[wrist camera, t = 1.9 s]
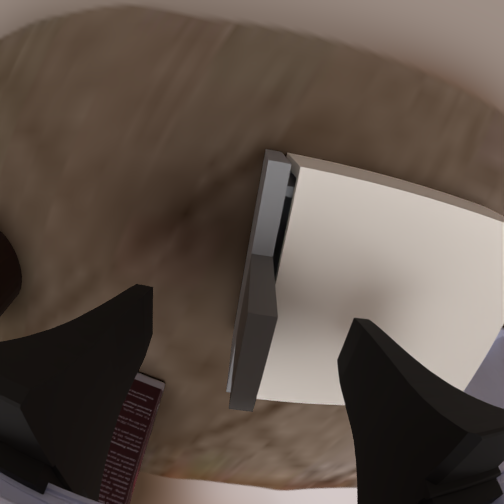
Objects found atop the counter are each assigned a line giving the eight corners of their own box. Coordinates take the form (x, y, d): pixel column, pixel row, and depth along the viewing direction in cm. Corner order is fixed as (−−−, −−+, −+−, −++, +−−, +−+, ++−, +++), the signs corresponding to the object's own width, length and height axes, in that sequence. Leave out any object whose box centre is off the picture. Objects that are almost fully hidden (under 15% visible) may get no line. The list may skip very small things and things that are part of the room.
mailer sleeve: (484, 206, 16) (539, 236, 11) (426, 349, 20) (456, 401, 15) (287, 152, 16) (300, 166, 11) (251, 332, 20) (248, 397, 15)
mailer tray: (476, 203, 16) (580, 264, 8) (417, 351, 20) (467, 448, 12) (265, 149, 15) (273, 179, 7) (233, 333, 20) (218, 457, 11)
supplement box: (106, 357, 21) (19, 543, 7) (167, 380, 22) (112, 583, 7) (100, 417, 24) (45, 560, 10) (149, 436, 25) (110, 586, 10)
